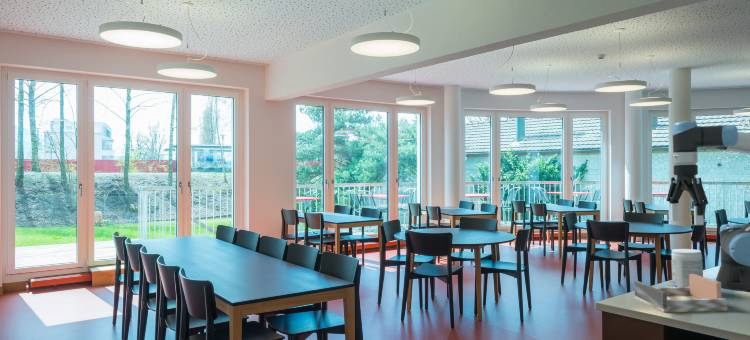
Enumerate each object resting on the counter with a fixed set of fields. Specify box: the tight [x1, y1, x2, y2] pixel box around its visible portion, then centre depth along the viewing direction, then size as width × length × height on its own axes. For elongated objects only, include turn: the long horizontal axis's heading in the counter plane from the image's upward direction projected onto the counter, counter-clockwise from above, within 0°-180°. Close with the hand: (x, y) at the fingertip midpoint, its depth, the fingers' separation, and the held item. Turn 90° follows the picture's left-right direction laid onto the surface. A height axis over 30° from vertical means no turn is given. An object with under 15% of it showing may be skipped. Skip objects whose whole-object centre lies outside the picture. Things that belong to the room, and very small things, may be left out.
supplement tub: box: [671, 248, 704, 287], centre depth 187 cm, size 10×10×15 cm
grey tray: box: [634, 280, 728, 313], centre depth 170 cm, size 20×18×6 cm
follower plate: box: [689, 274, 723, 299], centre depth 170 cm, size 2×14×7 cm, turn 0°
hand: (686, 223), depth 186 cm, fingers open, 13 cm apart
